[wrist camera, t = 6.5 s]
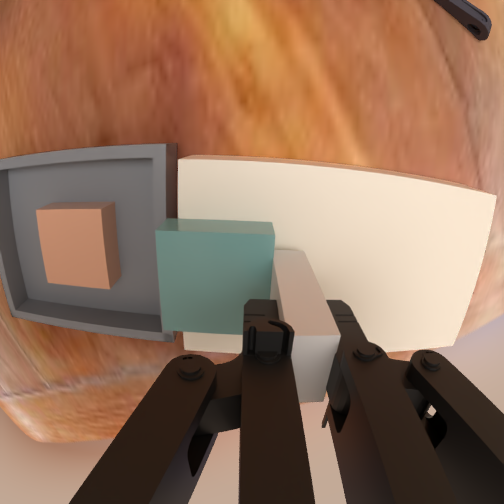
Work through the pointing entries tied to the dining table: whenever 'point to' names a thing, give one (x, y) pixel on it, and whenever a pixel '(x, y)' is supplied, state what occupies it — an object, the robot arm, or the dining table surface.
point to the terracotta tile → (80, 243)
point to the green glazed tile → (212, 272)
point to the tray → (128, 235)
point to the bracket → (468, 16)
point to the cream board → (355, 239)
